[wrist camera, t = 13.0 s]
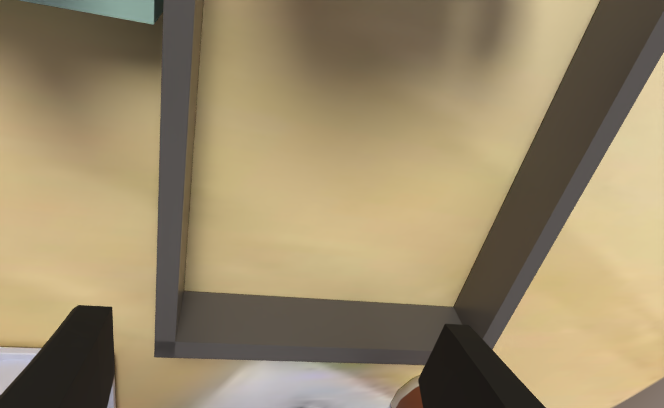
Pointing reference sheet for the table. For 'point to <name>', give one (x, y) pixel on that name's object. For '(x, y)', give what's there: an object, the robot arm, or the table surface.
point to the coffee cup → (408, 395)
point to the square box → (112, 8)
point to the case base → (388, 318)
